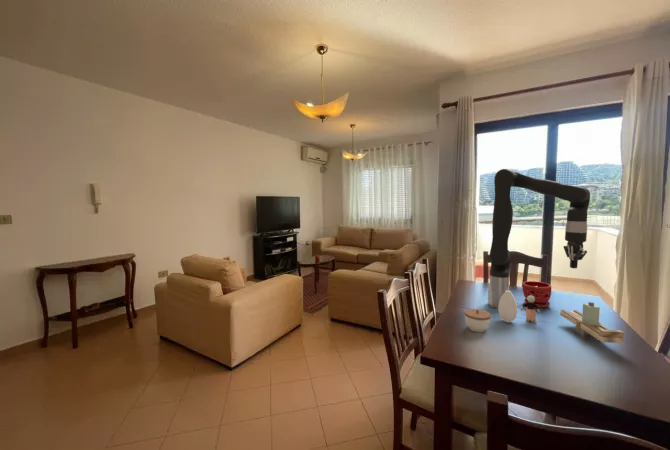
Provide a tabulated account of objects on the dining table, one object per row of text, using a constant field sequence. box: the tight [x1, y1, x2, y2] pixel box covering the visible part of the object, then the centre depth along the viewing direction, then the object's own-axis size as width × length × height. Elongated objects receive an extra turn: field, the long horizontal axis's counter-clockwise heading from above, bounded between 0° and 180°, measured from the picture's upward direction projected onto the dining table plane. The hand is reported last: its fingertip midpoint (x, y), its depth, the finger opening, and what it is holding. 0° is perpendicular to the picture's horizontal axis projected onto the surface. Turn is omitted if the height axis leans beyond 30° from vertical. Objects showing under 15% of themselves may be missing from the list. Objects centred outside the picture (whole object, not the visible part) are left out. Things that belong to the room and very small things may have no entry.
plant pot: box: [522, 280, 552, 308], centre depth 157 cm, size 13×13×12 cm
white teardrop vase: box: [497, 285, 518, 323], centre depth 136 cm, size 8×8×18 cm
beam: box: [559, 309, 625, 344], centre depth 121 cm, size 8×26×8 cm, turn 171°
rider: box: [582, 301, 601, 326], centre depth 119 cm, size 4×4×9 cm
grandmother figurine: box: [520, 296, 541, 323], centre depth 137 cm, size 8×4×13 cm, turn 65°
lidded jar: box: [464, 308, 492, 333], centre depth 130 cm, size 11×11×9 cm
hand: (573, 267), depth 130 cm, fingers closed
